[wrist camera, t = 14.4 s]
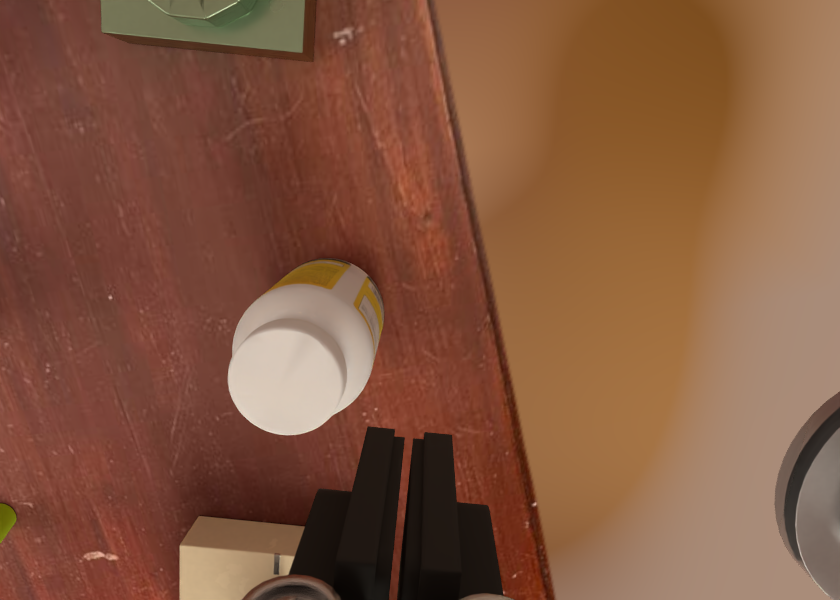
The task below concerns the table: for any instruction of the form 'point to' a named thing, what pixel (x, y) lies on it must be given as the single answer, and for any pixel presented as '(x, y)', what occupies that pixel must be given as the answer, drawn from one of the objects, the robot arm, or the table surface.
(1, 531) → the mushroom
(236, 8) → the control block
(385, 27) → the table surface
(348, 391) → the pill bottle
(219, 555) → the panel
